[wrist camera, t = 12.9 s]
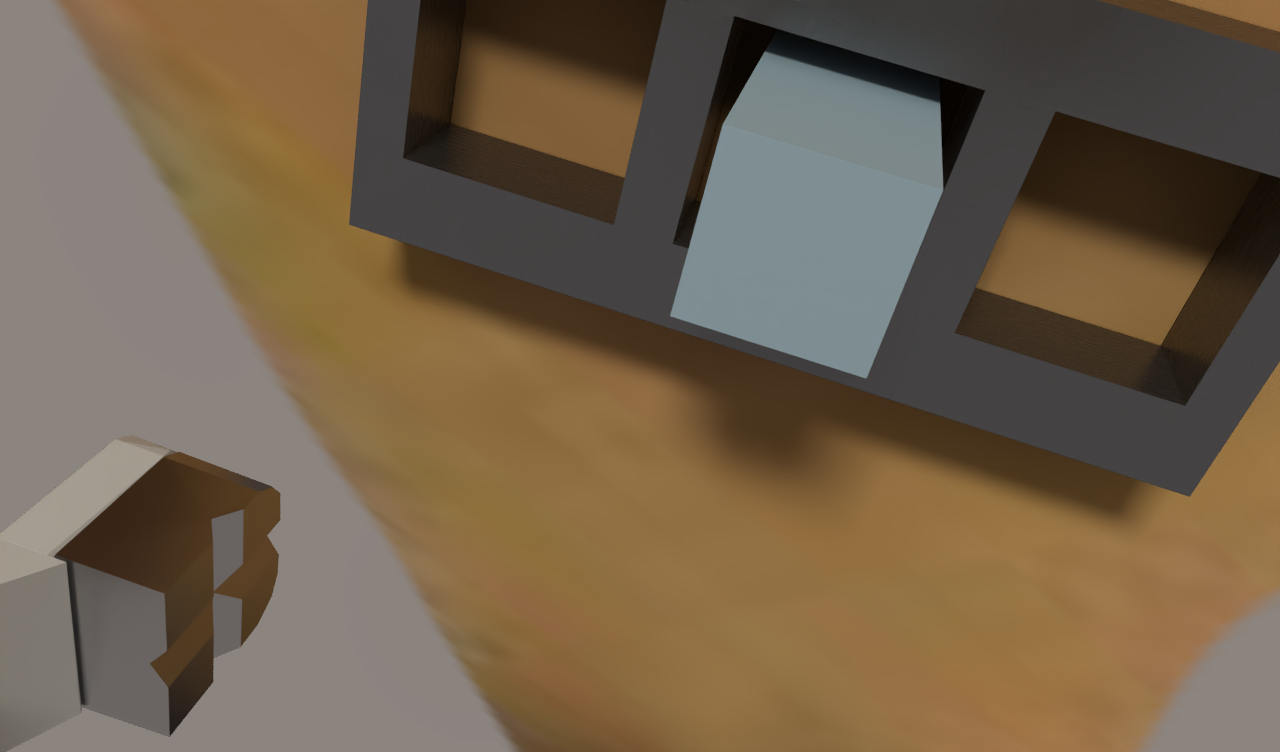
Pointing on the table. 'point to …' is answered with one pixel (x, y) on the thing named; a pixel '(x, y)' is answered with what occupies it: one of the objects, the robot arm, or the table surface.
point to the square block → (815, 203)
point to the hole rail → (958, 232)
